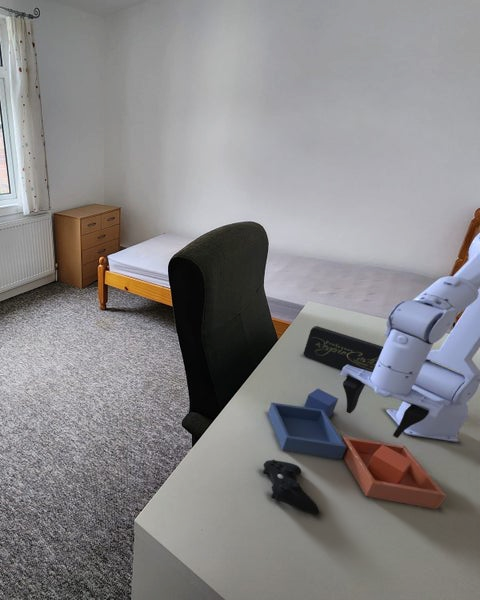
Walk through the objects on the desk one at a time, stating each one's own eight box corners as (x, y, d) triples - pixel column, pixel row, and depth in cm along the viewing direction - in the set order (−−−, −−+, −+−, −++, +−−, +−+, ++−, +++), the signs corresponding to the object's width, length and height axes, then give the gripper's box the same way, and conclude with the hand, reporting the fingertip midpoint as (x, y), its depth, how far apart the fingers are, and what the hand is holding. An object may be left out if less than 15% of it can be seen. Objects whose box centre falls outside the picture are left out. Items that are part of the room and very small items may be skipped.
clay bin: (398, 458, 69) (405, 445, 67) (437, 509, 59) (446, 495, 58) (338, 449, 71) (343, 436, 69) (365, 496, 61) (372, 482, 60)
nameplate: (302, 355, 103) (311, 326, 99) (304, 353, 105) (313, 324, 101) (390, 388, 89) (405, 356, 85) (392, 385, 90) (406, 353, 86)
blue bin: (319, 421, 78) (323, 409, 77) (341, 459, 68) (346, 447, 67) (267, 414, 80) (271, 402, 79) (282, 450, 71) (286, 437, 69)
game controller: (325, 513, 57) (293, 491, 56) (300, 526, 59) (269, 504, 59) (302, 466, 66) (275, 446, 65) (281, 478, 68) (254, 459, 67)
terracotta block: (403, 478, 64) (412, 460, 62) (394, 489, 62) (403, 472, 60) (374, 461, 68) (382, 444, 66) (365, 471, 65) (373, 454, 64)
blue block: (332, 413, 80) (338, 398, 79) (323, 421, 78) (329, 405, 76) (312, 402, 84) (317, 388, 82) (303, 409, 82) (308, 394, 80)
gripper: (343, 353, 65) (322, 408, 71) (446, 394, 54) (413, 456, 59) (358, 342, 69) (338, 396, 74) (459, 380, 57) (426, 439, 63)
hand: (372, 422), depth 67 cm, fingers open, 7 cm apart
